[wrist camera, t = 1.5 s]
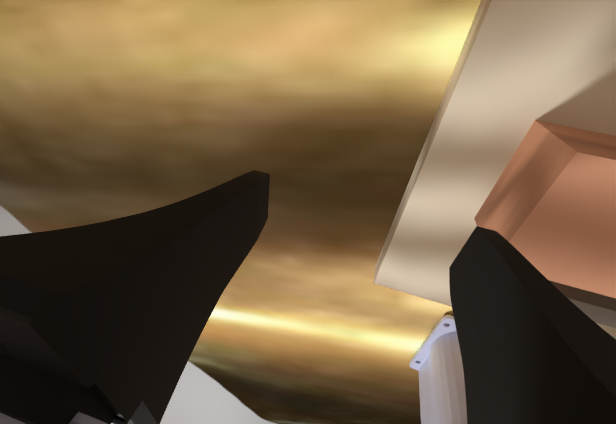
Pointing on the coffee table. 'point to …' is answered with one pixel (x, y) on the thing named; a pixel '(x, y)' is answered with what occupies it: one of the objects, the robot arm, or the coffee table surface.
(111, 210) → the coffee table surface
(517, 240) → the block
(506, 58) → the deck
